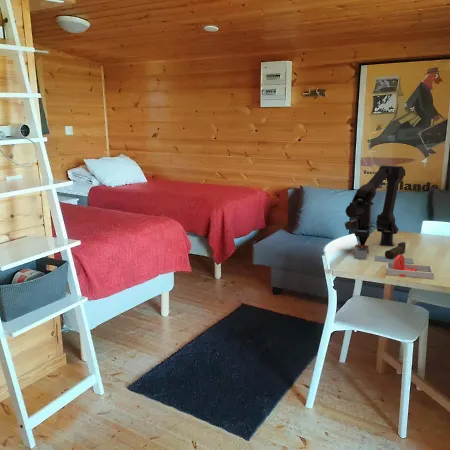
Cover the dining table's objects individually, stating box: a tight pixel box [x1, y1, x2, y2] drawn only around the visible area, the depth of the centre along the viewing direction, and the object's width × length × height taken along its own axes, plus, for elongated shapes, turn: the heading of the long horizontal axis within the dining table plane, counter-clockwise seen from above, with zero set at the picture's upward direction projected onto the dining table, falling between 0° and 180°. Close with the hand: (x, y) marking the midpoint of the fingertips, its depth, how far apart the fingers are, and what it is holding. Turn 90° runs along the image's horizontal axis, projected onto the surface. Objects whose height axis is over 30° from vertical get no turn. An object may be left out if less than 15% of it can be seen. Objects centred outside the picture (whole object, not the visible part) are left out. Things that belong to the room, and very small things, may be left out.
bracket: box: [393, 254, 418, 278], centre depth 179 cm, size 12×4×8 cm, turn 133°
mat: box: [374, 255, 415, 265], centre depth 197 cm, size 8×16×1 cm, turn 70°
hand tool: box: [384, 242, 406, 259], centre depth 204 cm, size 19×4×5 cm, turn 135°
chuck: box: [354, 247, 368, 260], centre depth 201 cm, size 5×5×4 cm
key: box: [354, 244, 370, 253], centre depth 207 cm, size 7×6×3 cm
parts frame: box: [385, 262, 434, 280], centre depth 179 cm, size 10×17×2 cm, turn 70°
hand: (362, 247), depth 211 cm, fingers closed
